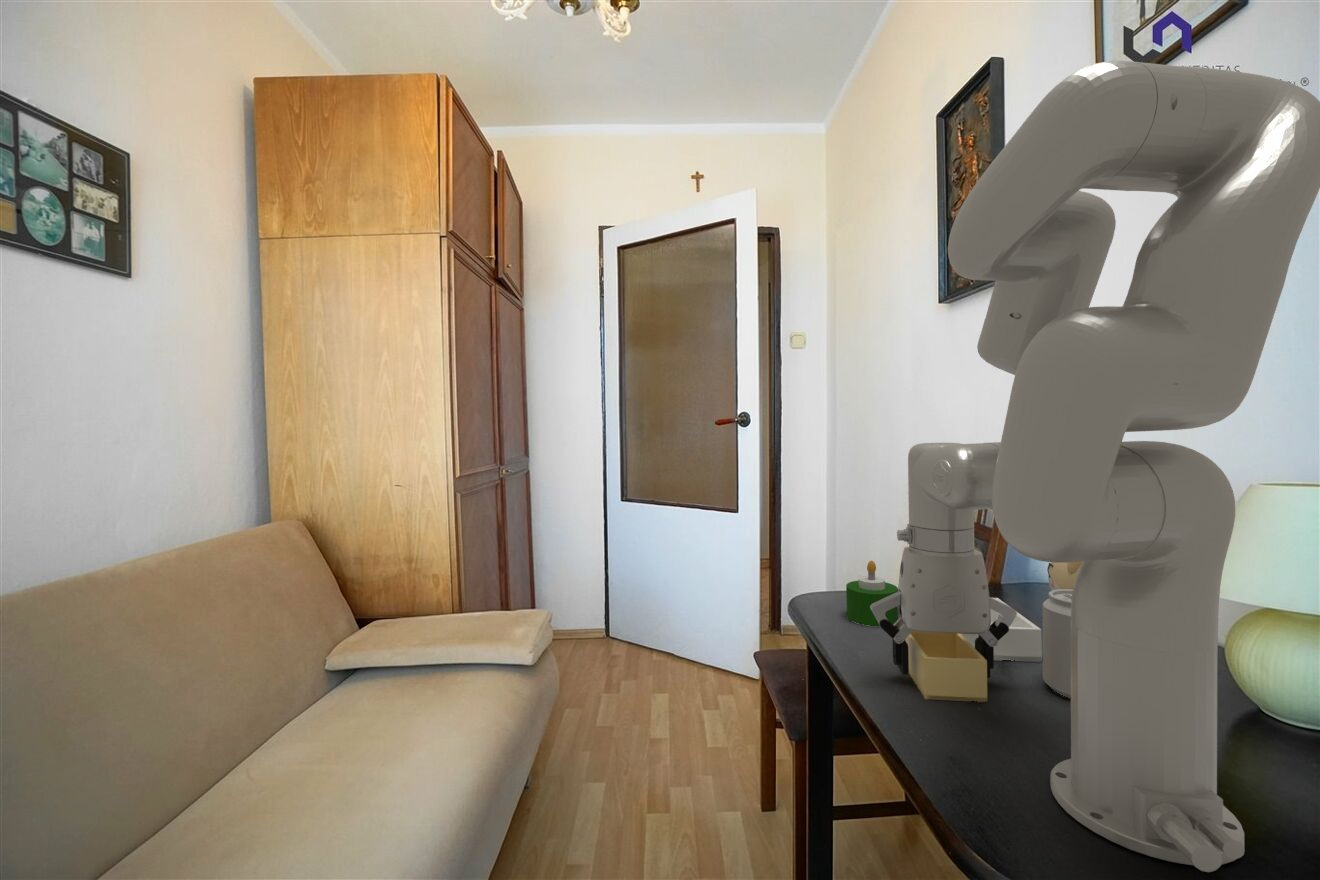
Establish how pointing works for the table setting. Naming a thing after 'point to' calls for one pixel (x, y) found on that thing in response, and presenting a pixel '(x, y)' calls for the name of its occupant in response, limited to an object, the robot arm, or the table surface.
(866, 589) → the candle
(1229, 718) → the table surface
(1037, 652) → the large crate
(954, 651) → the small crate
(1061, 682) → the can
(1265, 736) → the table surface
